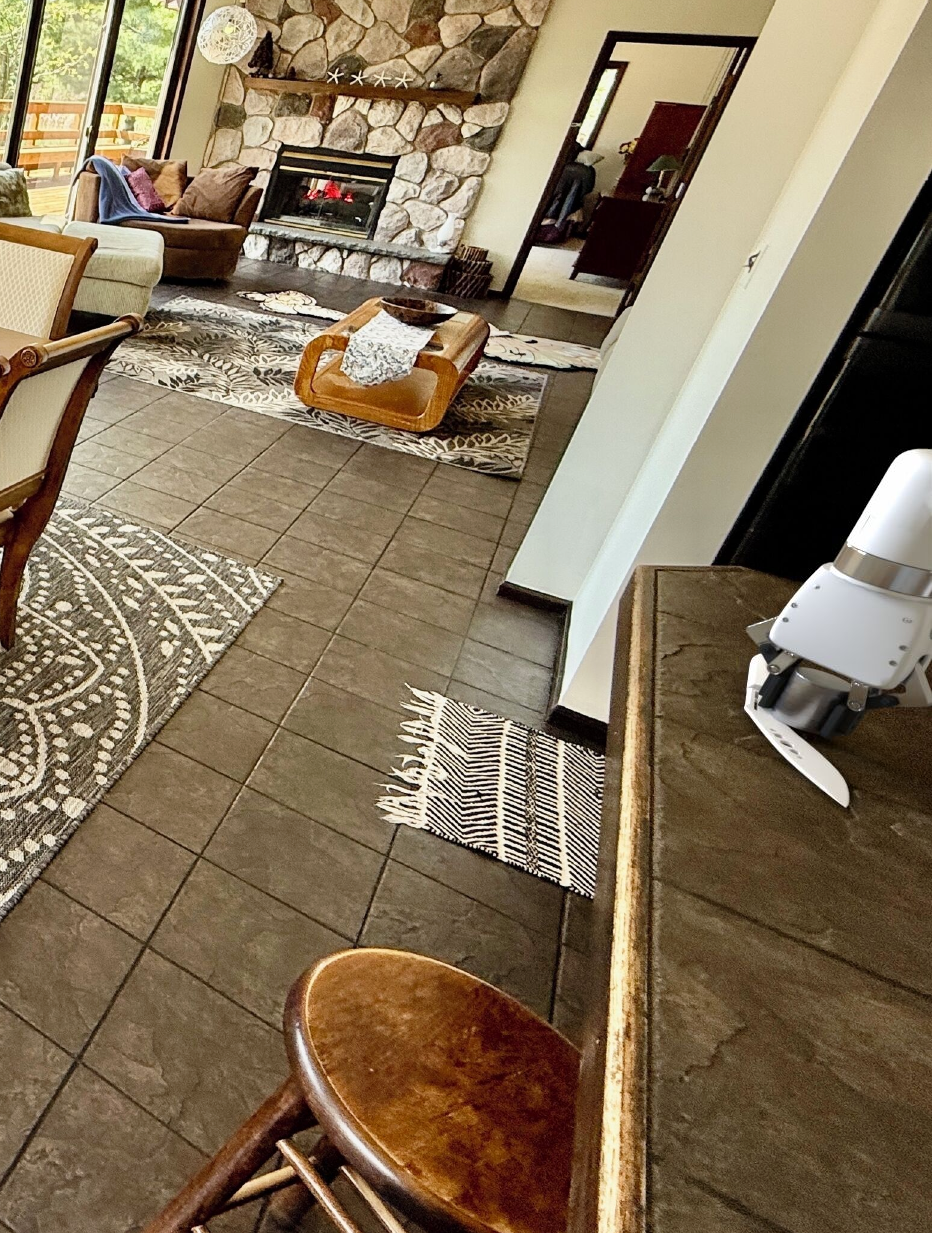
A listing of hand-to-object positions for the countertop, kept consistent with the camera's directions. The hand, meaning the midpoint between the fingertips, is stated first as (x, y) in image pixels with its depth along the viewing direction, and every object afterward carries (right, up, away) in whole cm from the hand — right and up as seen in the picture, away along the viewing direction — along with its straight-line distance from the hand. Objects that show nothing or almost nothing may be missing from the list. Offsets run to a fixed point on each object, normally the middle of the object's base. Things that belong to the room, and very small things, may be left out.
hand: (799, 718), depth 97 cm
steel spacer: (0, 0, 0) cm, 0 cm away
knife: (0, -1, +1) cm, 1 cm away
